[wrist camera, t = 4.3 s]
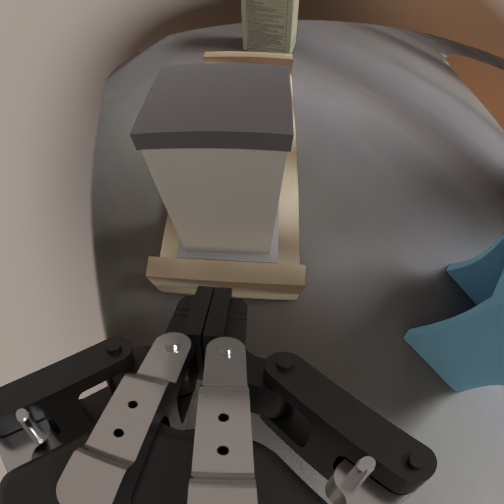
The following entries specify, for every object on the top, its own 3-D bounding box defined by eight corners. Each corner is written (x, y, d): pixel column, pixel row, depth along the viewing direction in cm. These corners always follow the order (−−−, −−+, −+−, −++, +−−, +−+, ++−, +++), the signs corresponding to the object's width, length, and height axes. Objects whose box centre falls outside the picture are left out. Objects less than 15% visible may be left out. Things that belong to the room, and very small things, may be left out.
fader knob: (190, 195, 20) (155, 62, 10) (277, 199, 20) (298, 62, 10) (179, 263, 18) (115, 143, 8) (276, 268, 18) (307, 145, 8)
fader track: (207, 77, 29) (205, 51, 25) (289, 79, 29) (292, 54, 25) (161, 292, 19) (145, 275, 16) (295, 300, 19) (305, 285, 16)
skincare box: (295, 45, 32) (304, -32, 21) (289, 58, 31) (299, -27, 19) (249, 38, 33) (250, -38, 22) (239, 50, 31) (239, -33, 20)
